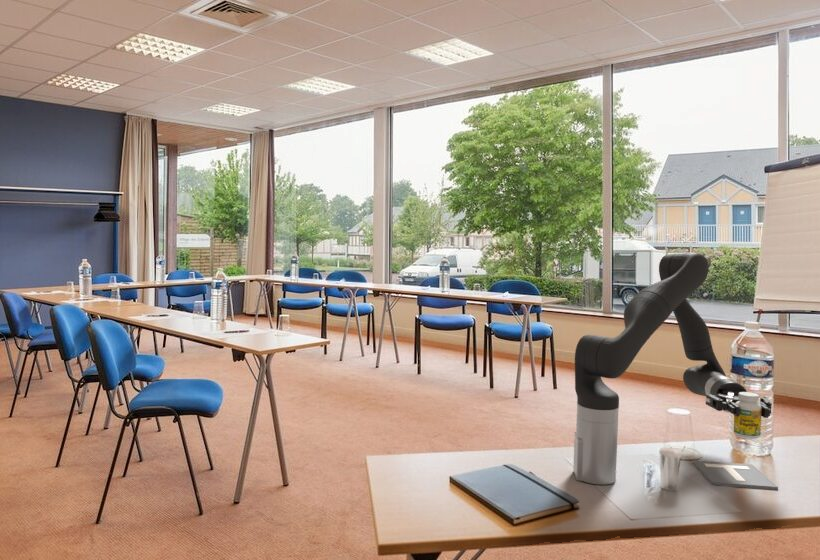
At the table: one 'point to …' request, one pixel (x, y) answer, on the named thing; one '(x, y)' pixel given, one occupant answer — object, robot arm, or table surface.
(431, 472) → the table surface
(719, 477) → the letter board
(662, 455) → the milkshake
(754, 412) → the supplement bottle
